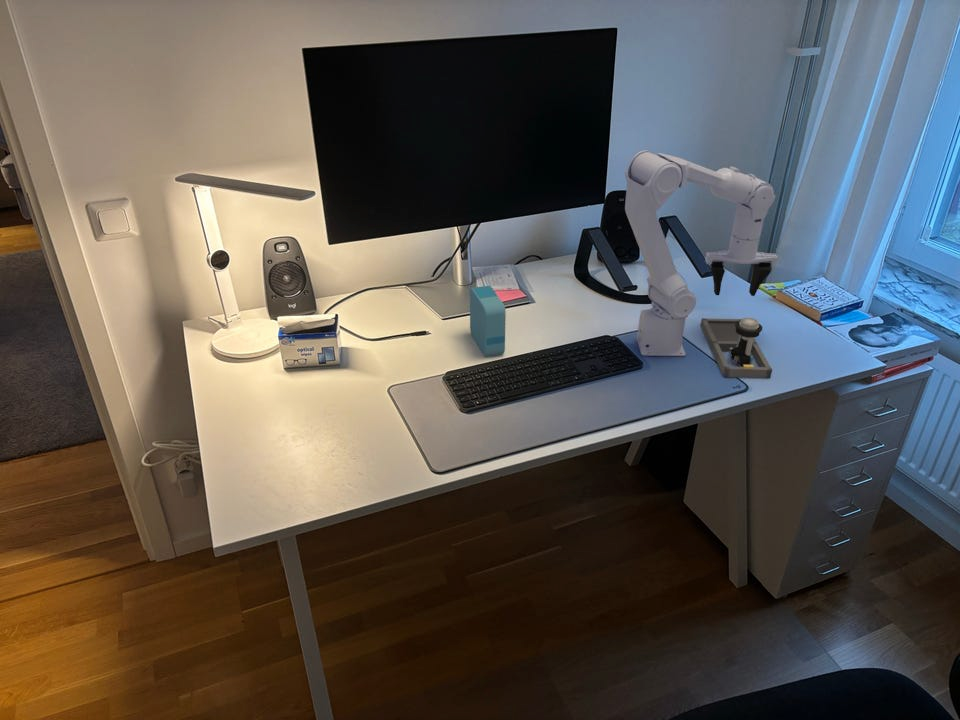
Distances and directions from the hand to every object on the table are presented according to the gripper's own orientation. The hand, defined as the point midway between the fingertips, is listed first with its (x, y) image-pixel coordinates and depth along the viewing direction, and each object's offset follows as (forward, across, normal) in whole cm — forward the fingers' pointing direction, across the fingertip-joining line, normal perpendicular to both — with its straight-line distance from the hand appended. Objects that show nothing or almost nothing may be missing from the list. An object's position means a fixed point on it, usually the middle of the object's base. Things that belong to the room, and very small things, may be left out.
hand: (734, 293), depth 161 cm
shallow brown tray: (+10, 0, +7) cm, 12 cm away
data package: (+11, +54, +7) cm, 55 cm away
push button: (+11, 0, +11) cm, 16 cm away
